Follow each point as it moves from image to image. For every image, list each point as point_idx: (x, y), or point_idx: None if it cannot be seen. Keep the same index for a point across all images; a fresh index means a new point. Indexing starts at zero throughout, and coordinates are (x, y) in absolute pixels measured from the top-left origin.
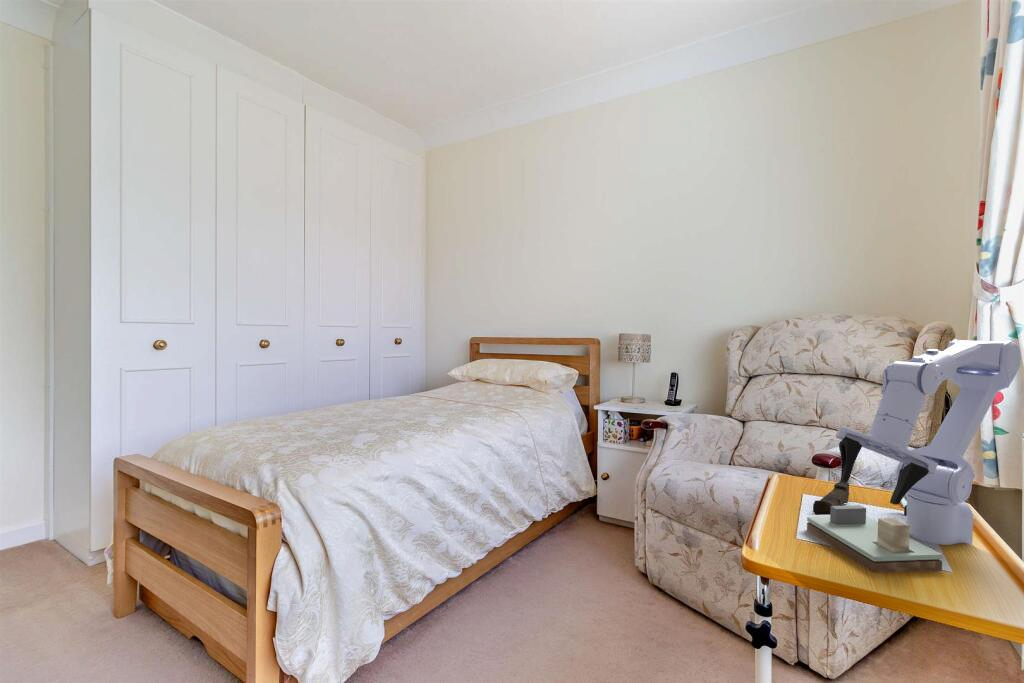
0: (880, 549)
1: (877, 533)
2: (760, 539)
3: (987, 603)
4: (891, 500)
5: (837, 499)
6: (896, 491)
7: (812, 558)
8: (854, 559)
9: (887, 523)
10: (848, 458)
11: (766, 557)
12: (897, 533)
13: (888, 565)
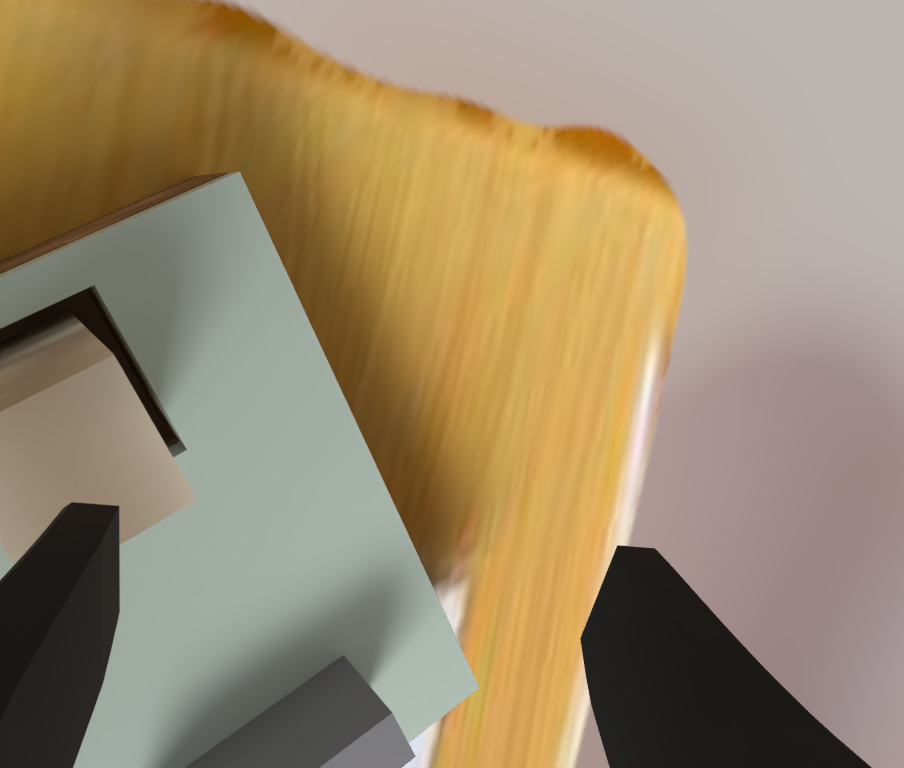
0: (159, 327)
1: None
2: (621, 473)
3: None
4: (113, 614)
5: None
6: (71, 693)
7: (442, 354)
8: None
9: (144, 409)
10: (840, 749)
11: (632, 269)
12: (58, 364)
13: (121, 216)
